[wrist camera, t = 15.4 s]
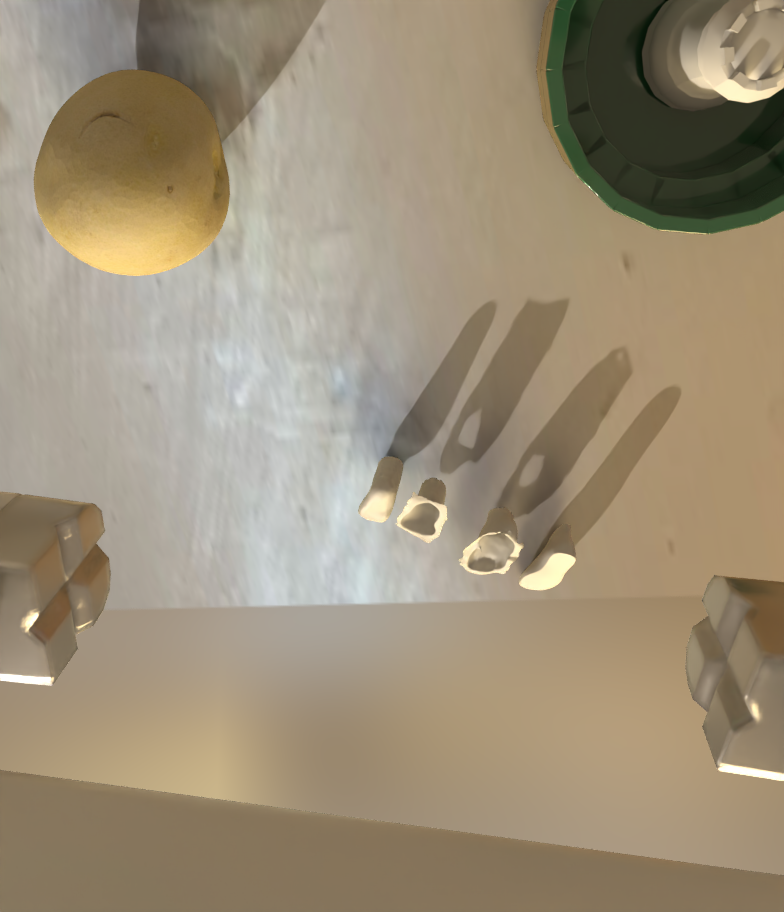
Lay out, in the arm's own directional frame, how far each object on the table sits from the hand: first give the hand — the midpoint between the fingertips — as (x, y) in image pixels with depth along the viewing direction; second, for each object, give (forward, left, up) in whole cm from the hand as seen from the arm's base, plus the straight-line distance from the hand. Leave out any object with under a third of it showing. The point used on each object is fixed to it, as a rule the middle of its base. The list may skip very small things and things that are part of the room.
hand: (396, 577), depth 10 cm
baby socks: (+17, +2, -25) cm, 30 cm away
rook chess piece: (-7, +9, -27) cm, 29 cm away
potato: (-1, -13, -27) cm, 30 cm away
